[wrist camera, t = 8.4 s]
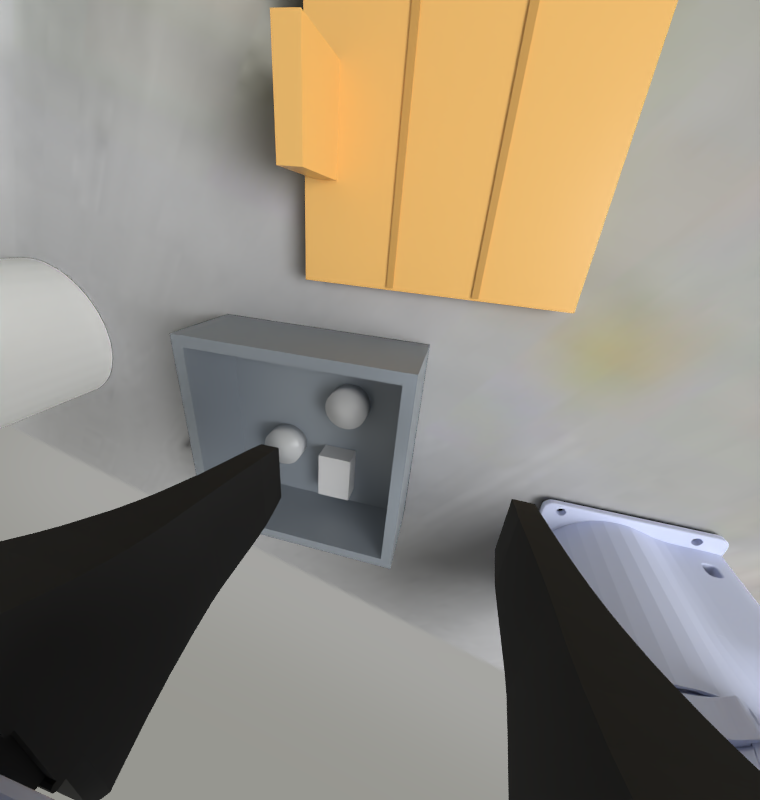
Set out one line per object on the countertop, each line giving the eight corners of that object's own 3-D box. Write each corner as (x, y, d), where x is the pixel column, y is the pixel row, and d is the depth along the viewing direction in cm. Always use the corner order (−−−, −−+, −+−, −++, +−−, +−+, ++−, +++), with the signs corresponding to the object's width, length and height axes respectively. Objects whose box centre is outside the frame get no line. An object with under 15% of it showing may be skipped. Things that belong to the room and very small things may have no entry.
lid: (695, -98, 11) (844, -321, 7) (565, 307, 17) (599, 333, 12) (319, -75, 13) (242, -231, 9) (317, 276, 19) (270, 288, 14)
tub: (429, 344, 18) (418, 375, 14) (403, 513, 24) (390, 568, 20) (227, 314, 21) (169, 333, 17) (245, 475, 26) (204, 519, 22)
